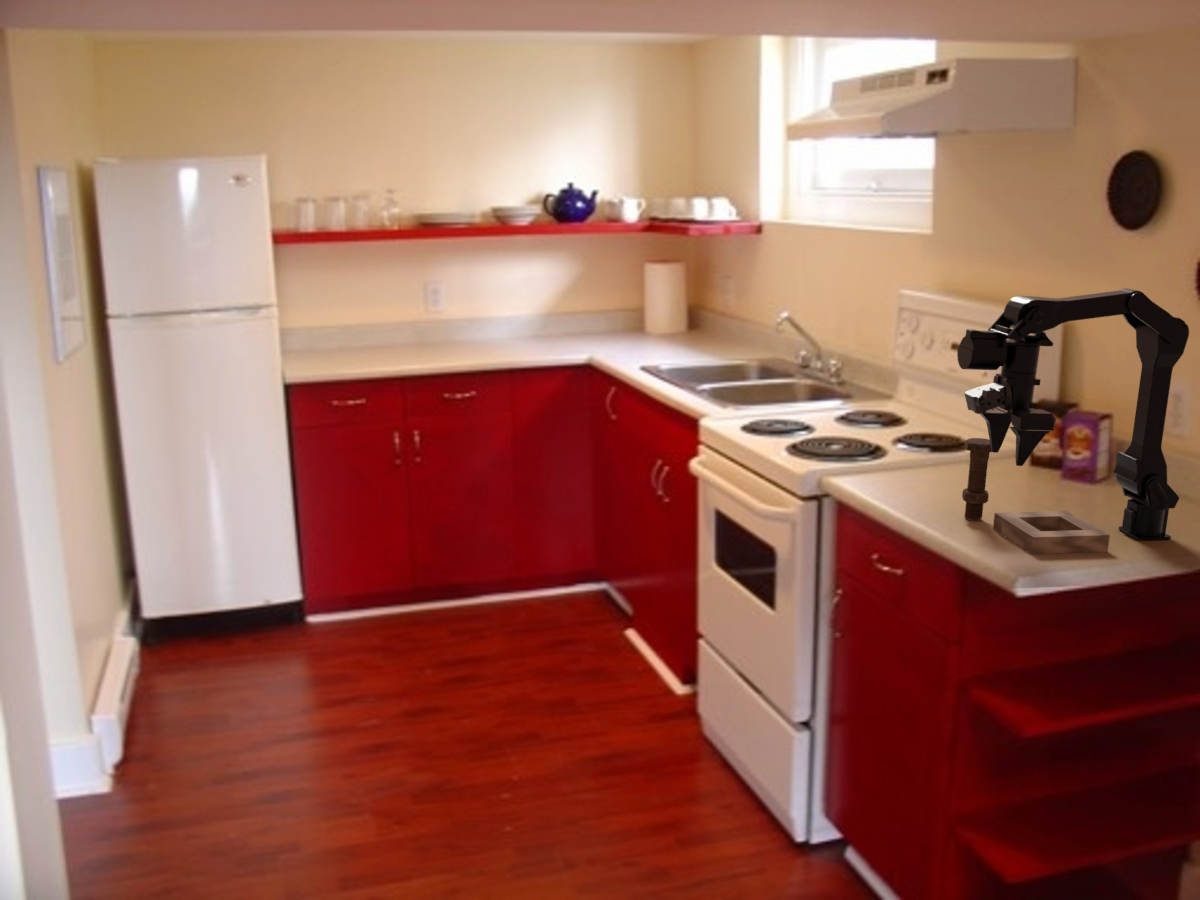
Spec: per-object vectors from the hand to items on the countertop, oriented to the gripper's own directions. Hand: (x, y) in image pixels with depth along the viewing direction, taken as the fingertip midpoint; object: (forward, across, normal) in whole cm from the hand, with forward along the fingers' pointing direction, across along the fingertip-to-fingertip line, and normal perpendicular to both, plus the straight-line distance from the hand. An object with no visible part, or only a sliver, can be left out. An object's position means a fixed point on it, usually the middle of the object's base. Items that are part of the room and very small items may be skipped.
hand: (1006, 458), depth 201 cm
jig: (+14, +1, +9) cm, 17 cm away
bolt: (+15, -12, +1) cm, 19 cm away
